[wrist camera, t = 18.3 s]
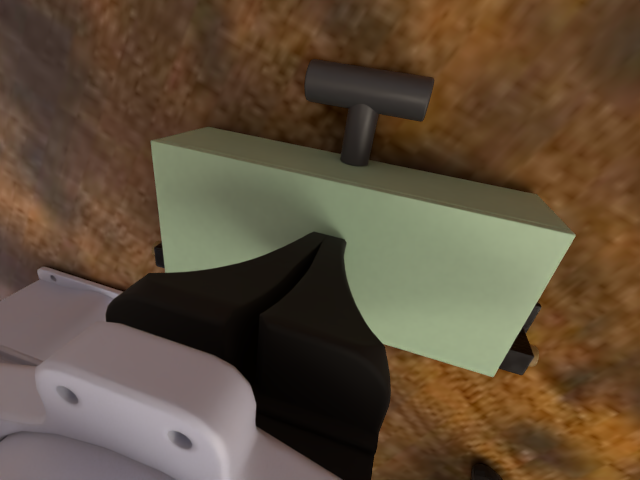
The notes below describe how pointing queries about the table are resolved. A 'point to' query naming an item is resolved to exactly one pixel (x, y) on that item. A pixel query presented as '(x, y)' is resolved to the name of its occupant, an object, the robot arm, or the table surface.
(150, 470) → the robot arm
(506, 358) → the pivot stand
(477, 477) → the gaming controller
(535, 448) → the table surface
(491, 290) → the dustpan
